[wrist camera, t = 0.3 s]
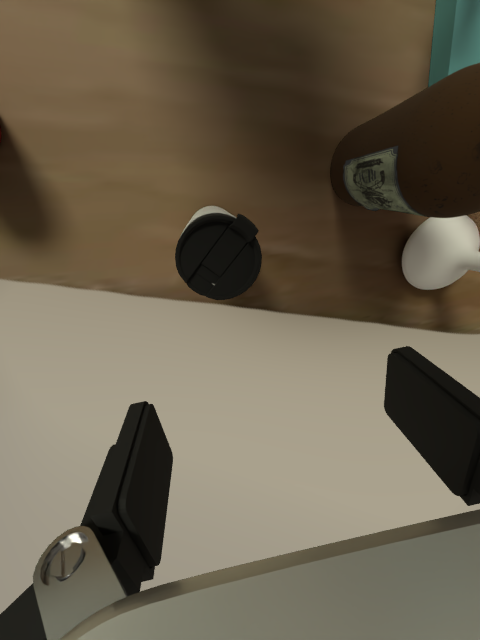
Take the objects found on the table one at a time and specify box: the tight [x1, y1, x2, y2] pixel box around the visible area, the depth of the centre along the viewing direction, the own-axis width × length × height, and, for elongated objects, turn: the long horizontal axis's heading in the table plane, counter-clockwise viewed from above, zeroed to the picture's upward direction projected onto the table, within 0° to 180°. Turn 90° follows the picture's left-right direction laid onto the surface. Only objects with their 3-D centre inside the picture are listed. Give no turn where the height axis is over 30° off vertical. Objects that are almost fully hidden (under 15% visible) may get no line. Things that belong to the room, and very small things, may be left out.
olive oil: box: [331, 63, 480, 218], centre depth 25 cm, size 11×11×25 cm
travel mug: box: [175, 206, 262, 300], centre depth 28 cm, size 6×7×20 cm
